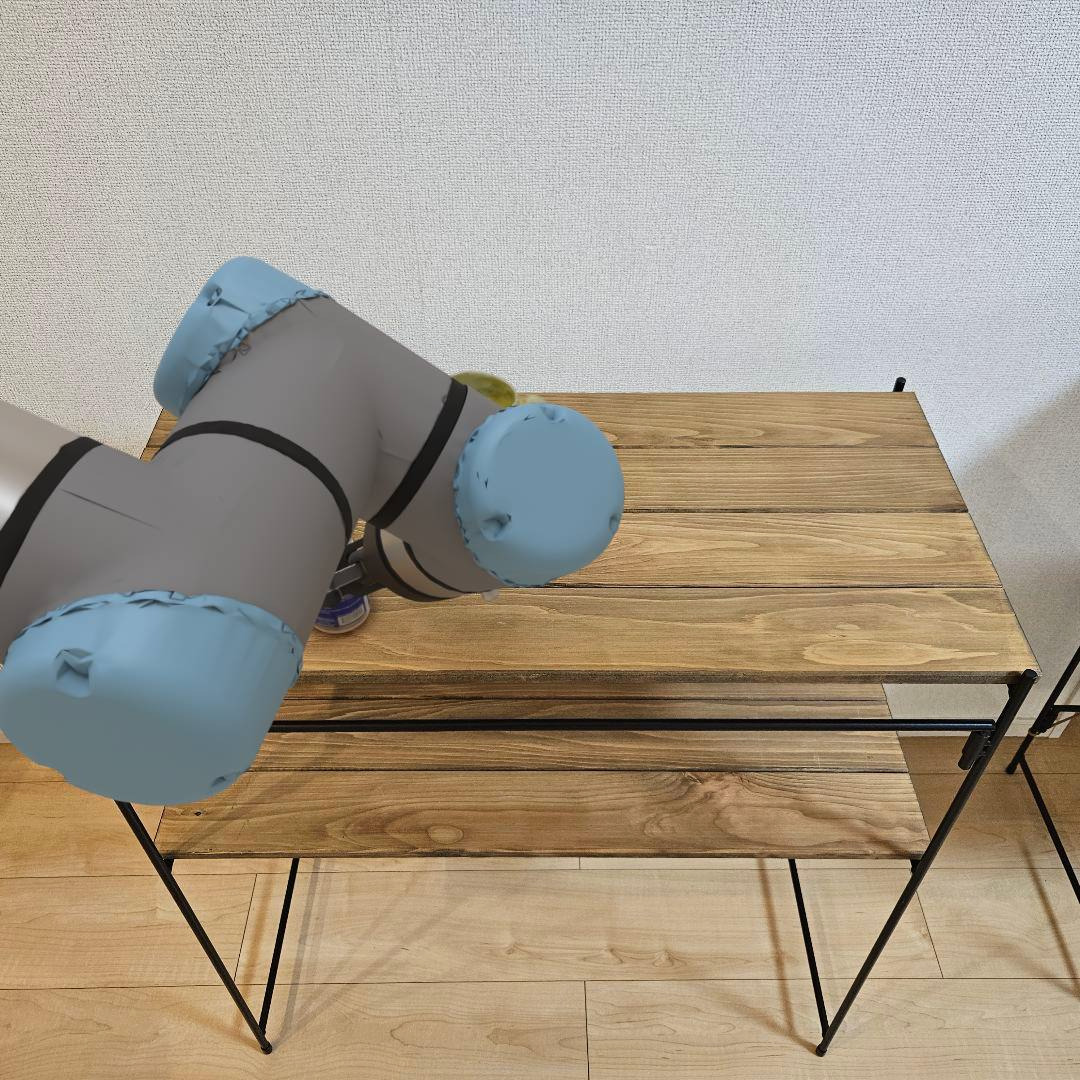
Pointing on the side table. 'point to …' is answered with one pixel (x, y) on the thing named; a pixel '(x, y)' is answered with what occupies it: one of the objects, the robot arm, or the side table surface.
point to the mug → (495, 388)
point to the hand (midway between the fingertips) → (358, 566)
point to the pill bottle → (344, 614)
